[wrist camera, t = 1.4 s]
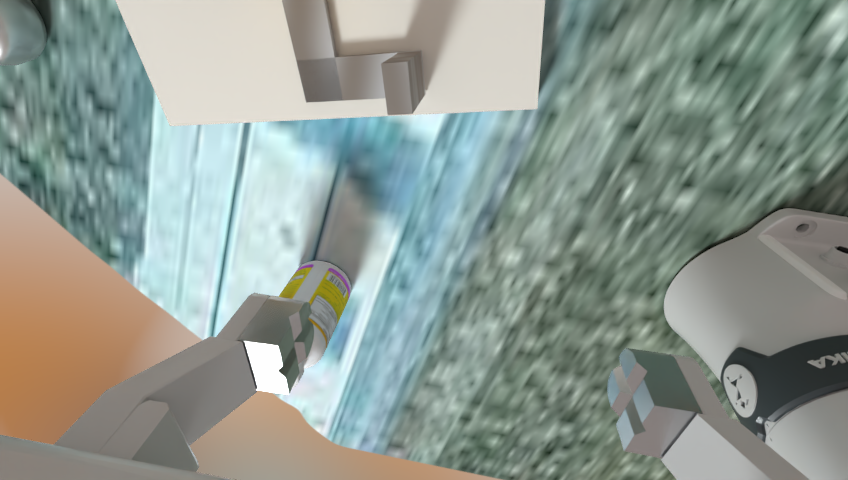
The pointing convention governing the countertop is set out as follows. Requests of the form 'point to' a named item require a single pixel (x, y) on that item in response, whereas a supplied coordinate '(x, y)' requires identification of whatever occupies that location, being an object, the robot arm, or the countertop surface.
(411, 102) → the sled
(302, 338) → the robot arm
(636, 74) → the countertop surface
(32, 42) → the plastic bottle
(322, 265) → the supplement bottle
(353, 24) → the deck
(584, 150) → the countertop surface
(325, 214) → the countertop surface
